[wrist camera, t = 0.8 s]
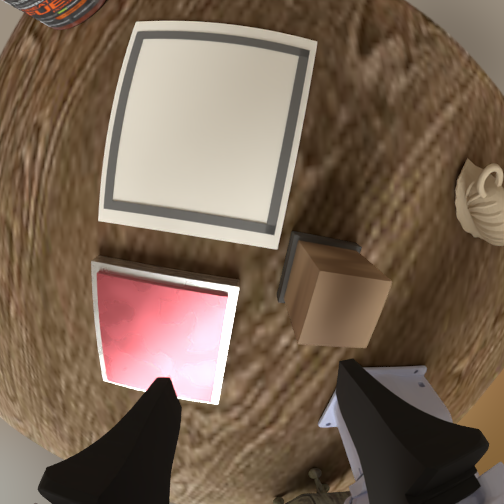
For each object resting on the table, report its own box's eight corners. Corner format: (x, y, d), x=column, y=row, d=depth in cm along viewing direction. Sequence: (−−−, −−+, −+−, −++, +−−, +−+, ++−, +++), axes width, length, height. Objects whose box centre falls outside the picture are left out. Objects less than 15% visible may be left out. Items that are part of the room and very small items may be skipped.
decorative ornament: (469, 250, 19) (510, 272, 14) (433, 169, 17) (483, 177, 12) (493, 221, 19) (534, 237, 14) (461, 141, 16) (509, 143, 11)
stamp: (356, 242, 19) (398, 277, 13) (337, 303, 20) (368, 352, 14) (291, 230, 18) (315, 263, 12) (276, 295, 20) (290, 348, 14)
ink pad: (239, 279, 19) (239, 289, 17) (218, 394, 22) (218, 407, 21) (98, 255, 18) (88, 263, 16) (107, 372, 21) (101, 383, 20)
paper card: (316, 42, 14) (318, 41, 14) (276, 248, 18) (277, 250, 18) (136, 23, 13) (135, 21, 13) (99, 220, 17) (97, 221, 17)
